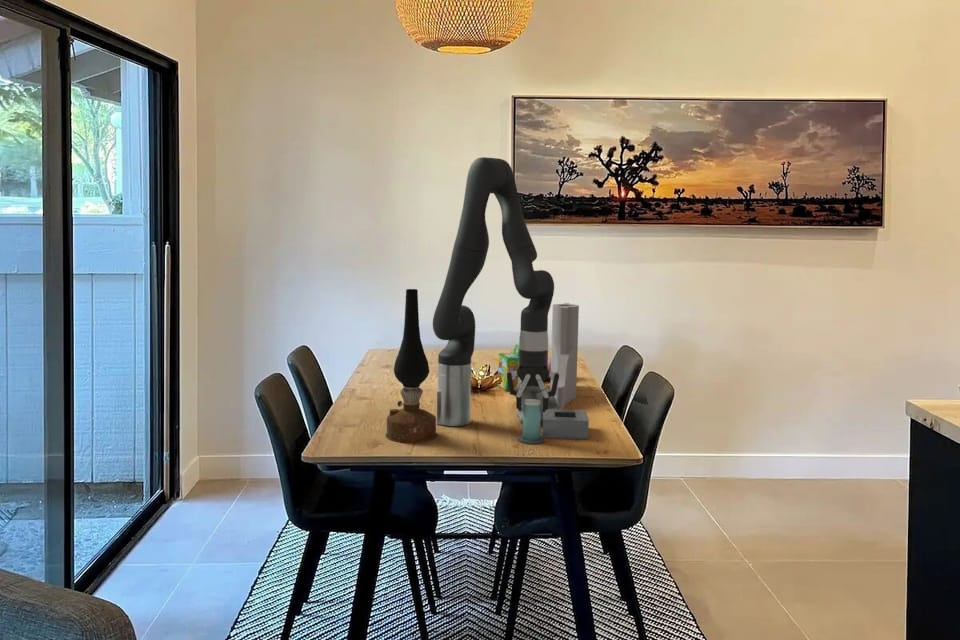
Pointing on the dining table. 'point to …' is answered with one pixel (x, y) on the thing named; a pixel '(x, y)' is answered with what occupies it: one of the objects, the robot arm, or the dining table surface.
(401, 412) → the oil lamp
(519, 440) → the coaster
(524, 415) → the teal canister
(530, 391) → the sculpture
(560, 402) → the grey piece
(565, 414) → the housing
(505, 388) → the chalk box
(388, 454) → the dining table surface
